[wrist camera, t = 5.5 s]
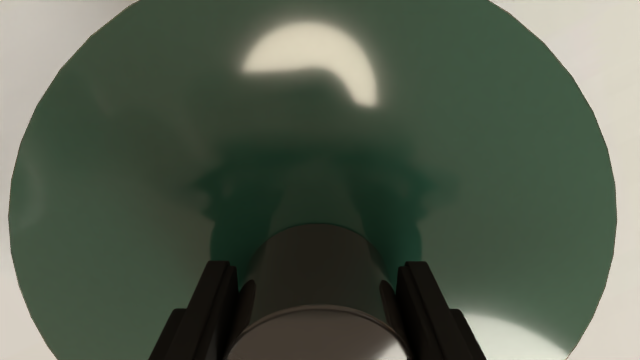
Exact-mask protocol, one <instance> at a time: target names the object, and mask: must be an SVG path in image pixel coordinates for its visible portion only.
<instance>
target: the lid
mask: <svg viewBox="0 0 640 360" xmlns="http://www.w3.org/2000/svg"><path fill="white" fill-rule="evenodd" d="M8 221H9V234H10V247H11V255H12V259H13V263H14V268H15V272H16V276H17V280H18V285H19V288H20V290H21V293H22V295H23V298H24V300H25V303H26V306H27V308H28V311H29V313H30V316H31V318H32V320H33V322H34V323H35V325H36V327H37V329H38V330H39V332H40V334H41V336H42V338H43V339H44V341H45V343H46V345H47V346H48V348H49V349H50V350H51V352H52V353H53V354H54V356H55V357H56V358H57V360H148V359H149V357H150V355H151V353H152V351H153V349H154V347H155V345H156V343H157V341H158V339H159V337H160V335H161V332H162V330H163V328H164V326H165V324H166V322H167V320H168V318H169V316H170V314H171V313H172V311H173V310H174V309H176V308H187V307H188V304H189V302H190V300H191V298H192V295H193V293H194V291H195V289H196V286H197V284H198V282H199V280H200V277H201V275H202V273H203V271H204V268H205V266H206V264H207V262H208V261H229V262H230V266H236V268H237V278H238V291H239V295H238V299H237V302H236V306H235V309H234V313H233V317H232V320H231V324H230V328H229V331H228V335H227V338H226V342H225V346H224V349H223V353H222V356H221V360H415V357H414V354H413V350H412V347H411V344H410V341H409V337H408V334H407V331H406V328H405V324H404V321H403V318H402V315H401V311H400V308H399V305H398V302H397V298H396V295H395V293H396V283H397V273H398V267H399V266H404V265H405V262H406V261H426V262H427V263H428V265H429V267H430V269H431V271H432V274H433V276H434V278H435V280H436V282H437V284H438V286H439V288H440V290H441V292H442V294H443V296H444V298H445V300H446V303H447V305H448V307H449V309H459V310H461V312H462V313H463V315H464V317H465V319H466V320H467V322H468V324H469V326H470V328H471V330H472V332H473V334H474V336H475V338H476V340H477V342H478V343H479V345H480V347H481V349H482V351H483V353H484V355H485V357H486V359H487V360H566V359H567V358H568V356H569V355H570V354H571V352H572V351H573V350H574V349H575V347H576V346H577V344H578V342H579V341H580V339H581V337H582V335H583V334H584V332H585V330H586V329H587V327H588V325H589V323H590V322H591V320H592V318H593V316H594V313H595V311H596V308H597V306H598V304H599V301H600V299H601V296H602V294H603V291H604V289H605V286H606V282H607V278H608V274H609V270H610V267H611V263H612V259H613V255H614V245H615V236H616V226H617V209H616V190H615V181H614V176H613V172H612V167H611V162H610V158H609V153H608V148H607V146H606V143H605V141H604V138H603V135H602V133H601V130H600V128H599V125H598V123H597V120H596V118H595V115H594V112H593V111H592V109H591V107H590V106H589V104H588V102H587V101H586V99H585V97H584V95H583V94H582V92H581V90H580V89H579V87H578V85H577V84H576V82H575V80H574V79H573V77H572V75H571V74H570V73H569V72H568V71H567V69H566V68H565V67H564V66H563V65H562V64H561V62H560V61H559V60H558V59H557V58H556V56H555V55H554V54H553V53H552V52H551V50H550V49H549V48H548V47H547V46H546V45H545V43H544V42H543V41H541V40H540V39H539V38H538V37H537V36H536V35H534V34H533V33H532V32H531V31H530V30H529V29H527V28H526V27H525V26H524V25H523V24H522V23H520V22H519V21H518V20H517V19H516V18H515V17H513V16H512V15H511V14H510V13H509V12H507V11H505V10H504V9H502V8H501V7H499V6H497V5H496V4H494V3H492V2H491V1H489V0H139V1H137V2H135V3H133V4H131V5H130V6H128V7H127V8H125V9H124V10H123V11H122V12H120V13H119V14H118V15H116V16H115V17H114V18H113V19H111V20H110V21H109V22H108V23H106V24H105V25H104V26H103V27H101V28H100V29H99V30H97V31H96V32H95V33H94V34H92V35H91V36H90V37H89V38H88V39H87V40H86V42H85V43H84V44H83V45H82V46H81V47H80V48H79V49H78V50H77V51H76V53H75V54H74V55H73V56H72V57H71V58H70V59H69V60H68V61H67V62H66V63H65V65H64V66H63V67H62V68H61V69H60V70H59V72H58V74H57V75H56V77H55V78H54V80H53V81H52V83H51V84H50V86H49V87H48V89H47V90H46V92H45V94H44V95H43V97H42V98H41V100H40V101H39V103H38V104H37V106H36V108H35V111H34V113H33V115H32V118H31V120H30V122H29V124H28V127H27V129H26V131H25V134H24V136H23V138H22V141H21V143H20V147H19V151H18V155H17V159H16V163H15V167H14V171H13V175H12V179H11V189H10V201H9V213H8Z"/></svg>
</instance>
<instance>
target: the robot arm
mask: <svg viewBox="0 0 640 360" xmlns="http://www.w3.org/2000/svg"><path fill="white" fill-rule="evenodd" d="M238 295H239V291H238V278H237V268H236V266H230V262H229V261H208V262H207V264H206V266H205V268H204V271H203V273H202V275H201V277H200V280H199V282H198V284H197V286H196V289H195V291H194V293H193V295H192V298H191V300H190V302H189V304H188V307H187V308H176V309H174V310H173V311H172V313H171V314H170V316H169V318H168V320H167V322H166V324H165V326H164V328H163V330H162V332H161V335H160V337H159V339H158V341H157V343H156V345H155V347H154V349H153V351H152V353H151V355H150V357H149V359H148V360H221V356H222V353H223V349H224V346H225V342H226V338H227V335H228V331H229V328H230V324H231V320H232V317H233V313H234V309H235V306H236V302H237V299H238ZM395 295H396V298H397V302H398V305H399V308H400V311H401V315H402V318H403V321H404V324H405V328H406V331H407V334H408V337H409V341H410V344H411V347H412V350H413V354H414V357H415V360H487V359H486V357H485V355H484V353H483V351H482V349H481V347H480V345H479V343H478V342H477V340H476V338H475V336H474V334H473V332H472V330H471V328H470V326H469V324H468V322H467V320H466V319H465V317H464V315H463V313H462V312H461V310H459V309H449V307H448V305H447V303H446V300H445V298H444V296H443V294H442V292H441V290H440V288H439V286H438V284H437V282H436V280H435V278H434V276H433V274H432V271H431V269H430V267H429V265H428V263H427V262H426V261H406V262H405V265H404V266H399V267H398V273H397V283H396V293H395Z"/></svg>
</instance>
